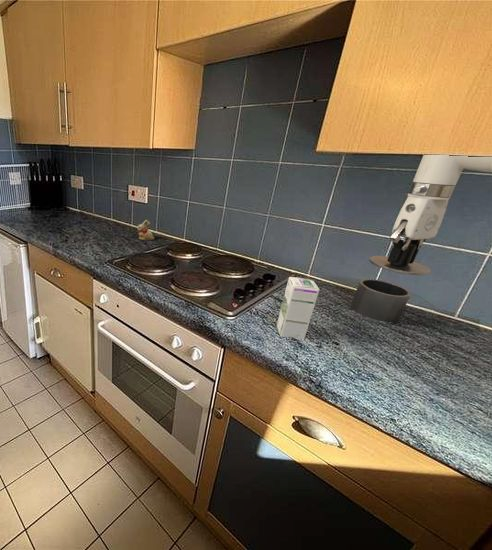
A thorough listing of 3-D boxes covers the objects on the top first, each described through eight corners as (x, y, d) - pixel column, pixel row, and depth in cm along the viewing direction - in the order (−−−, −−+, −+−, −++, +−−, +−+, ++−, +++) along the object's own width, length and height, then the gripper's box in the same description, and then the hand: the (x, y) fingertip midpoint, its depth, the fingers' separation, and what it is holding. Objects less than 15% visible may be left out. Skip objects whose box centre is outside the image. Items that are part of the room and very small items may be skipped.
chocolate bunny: (141, 236, 154) (142, 216, 150) (155, 239, 150) (156, 219, 146) (135, 238, 149) (136, 218, 145) (149, 241, 145) (150, 221, 141)
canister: (355, 300, 96) (365, 275, 93) (401, 314, 88) (413, 288, 85) (345, 311, 89) (355, 285, 85) (394, 328, 81) (407, 300, 78)
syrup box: (304, 341, 74) (322, 289, 68) (278, 337, 75) (293, 285, 70) (299, 329, 79) (314, 279, 73) (274, 325, 81) (288, 275, 75)
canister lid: (373, 256, 88) (381, 234, 86) (431, 269, 80) (442, 245, 77) (363, 266, 80) (372, 242, 78) (426, 282, 72) (439, 255, 69)
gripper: (426, 194, 66) (394, 270, 74) (471, 193, 71) (436, 264, 79) (389, 189, 73) (363, 260, 80) (433, 188, 78) (404, 255, 85)
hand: (399, 261), depth 79 cm, fingers closed on canister lid, 3 cm apart
